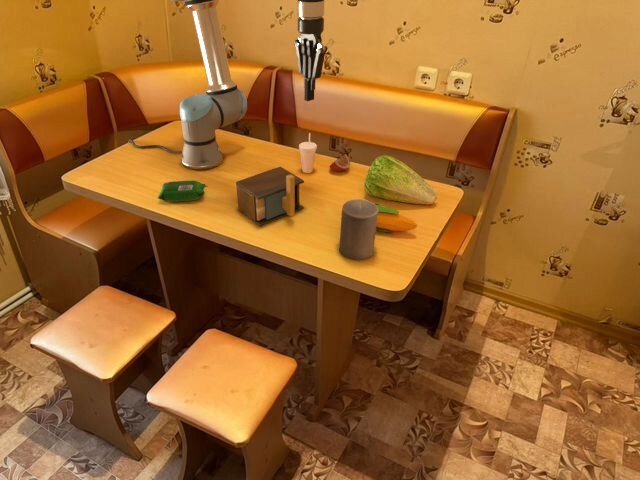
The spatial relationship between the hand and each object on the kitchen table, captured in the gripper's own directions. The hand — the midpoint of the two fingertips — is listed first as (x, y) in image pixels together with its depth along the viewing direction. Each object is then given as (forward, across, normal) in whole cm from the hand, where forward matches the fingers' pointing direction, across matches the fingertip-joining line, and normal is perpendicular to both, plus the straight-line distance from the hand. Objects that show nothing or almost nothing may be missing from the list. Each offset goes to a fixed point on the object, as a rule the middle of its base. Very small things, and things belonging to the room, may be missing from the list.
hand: (309, 99), depth 155 cm
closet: (+28, -8, +21) cm, 36 cm away
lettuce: (+29, -28, -16) cm, 43 cm away
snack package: (+29, +16, +40) cm, 52 cm away
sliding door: (+27, -15, +23) cm, 39 cm away
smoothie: (+29, +6, -5) cm, 30 cm away
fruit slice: (+29, -1, -14) cm, 32 cm away
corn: (+29, -37, +1) cm, 47 cm away
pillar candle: (+29, -40, +15) cm, 52 cm away
